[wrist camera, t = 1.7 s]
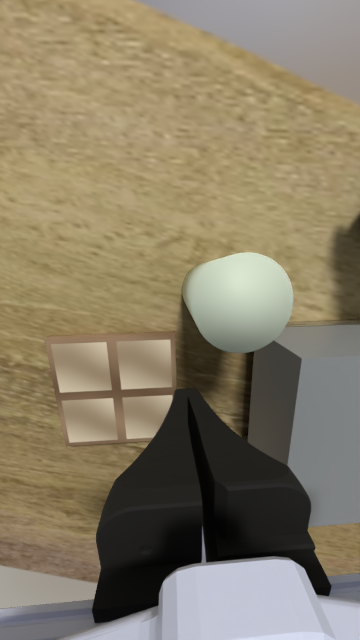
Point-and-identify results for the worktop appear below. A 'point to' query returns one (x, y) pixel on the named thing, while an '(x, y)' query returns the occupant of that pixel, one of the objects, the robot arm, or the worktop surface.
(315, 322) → the rails
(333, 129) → the worktop surface
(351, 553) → the worktop surface
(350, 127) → the worktop surface
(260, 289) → the pin
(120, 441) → the board
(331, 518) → the cover
